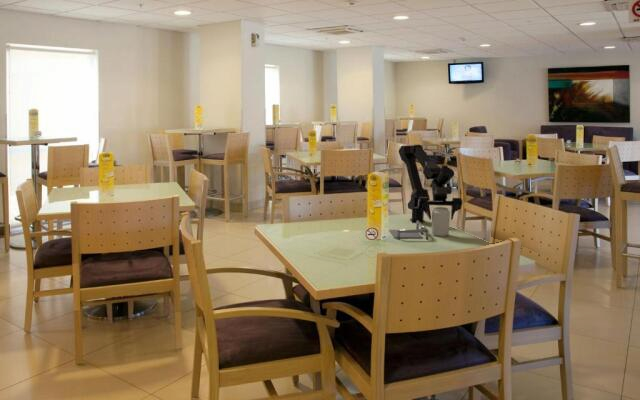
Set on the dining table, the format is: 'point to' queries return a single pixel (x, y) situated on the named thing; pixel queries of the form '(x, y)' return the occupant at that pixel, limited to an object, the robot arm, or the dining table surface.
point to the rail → (415, 230)
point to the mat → (405, 234)
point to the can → (440, 221)
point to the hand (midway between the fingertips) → (441, 219)
